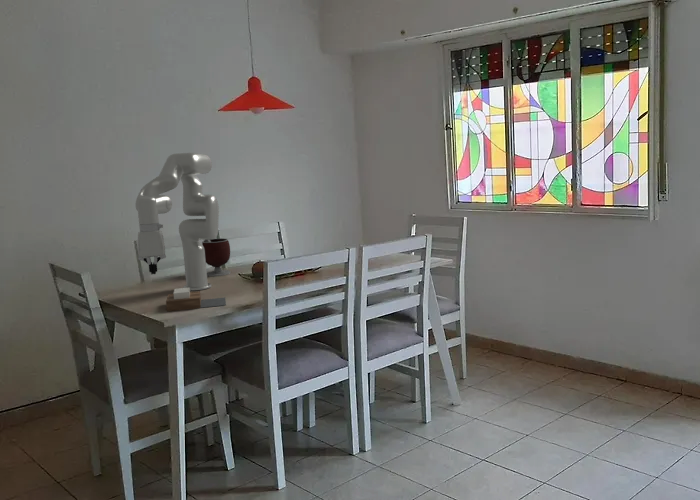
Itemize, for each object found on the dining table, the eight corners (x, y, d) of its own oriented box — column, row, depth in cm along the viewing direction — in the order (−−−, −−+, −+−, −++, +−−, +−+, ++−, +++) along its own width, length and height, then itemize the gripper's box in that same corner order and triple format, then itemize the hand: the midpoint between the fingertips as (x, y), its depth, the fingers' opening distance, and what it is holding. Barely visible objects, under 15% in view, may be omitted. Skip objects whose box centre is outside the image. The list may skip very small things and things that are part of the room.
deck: (169, 303, 283) (168, 294, 283) (201, 300, 286) (200, 291, 285) (167, 311, 270) (166, 301, 269) (200, 308, 272) (199, 298, 272)
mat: (201, 300, 286) (201, 299, 286) (225, 298, 288) (225, 297, 288) (200, 308, 272) (200, 307, 272) (225, 305, 274) (225, 304, 274)
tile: (175, 294, 281) (174, 288, 280) (190, 293, 282) (189, 287, 282) (174, 299, 272) (173, 293, 272) (189, 297, 273) (189, 291, 273)
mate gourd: (237, 271, 348) (234, 232, 345) (222, 276, 336) (218, 236, 332) (211, 270, 354) (208, 232, 351) (195, 276, 341) (192, 236, 338)
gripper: (169, 226, 276) (173, 270, 278) (130, 228, 273) (135, 274, 275) (168, 227, 268) (172, 273, 271) (128, 230, 266) (133, 277, 268)
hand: (153, 273), depth 273 cm, fingers closed
